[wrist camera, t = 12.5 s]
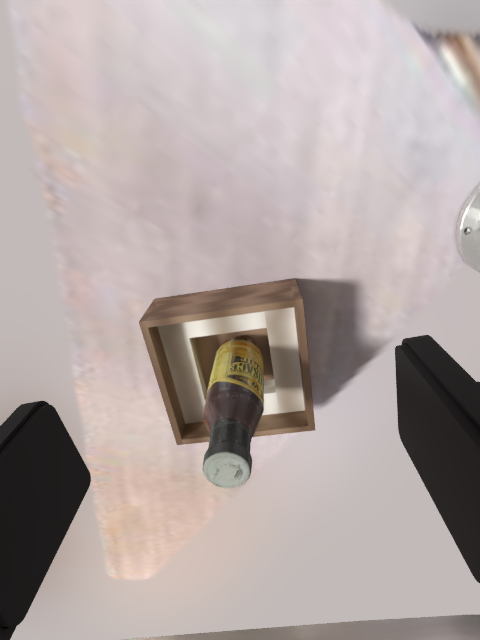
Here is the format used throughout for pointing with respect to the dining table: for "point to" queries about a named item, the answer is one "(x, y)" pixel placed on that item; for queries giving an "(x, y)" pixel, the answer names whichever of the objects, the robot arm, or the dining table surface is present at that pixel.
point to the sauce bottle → (233, 411)
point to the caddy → (206, 338)
